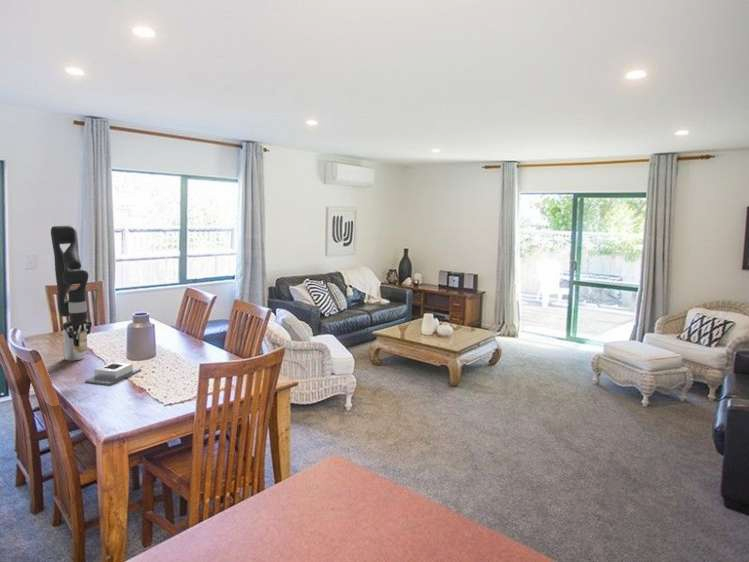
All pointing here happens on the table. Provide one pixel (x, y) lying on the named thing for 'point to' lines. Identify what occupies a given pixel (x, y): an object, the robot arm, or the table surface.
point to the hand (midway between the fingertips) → (80, 344)
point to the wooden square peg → (81, 342)
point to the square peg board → (112, 373)
